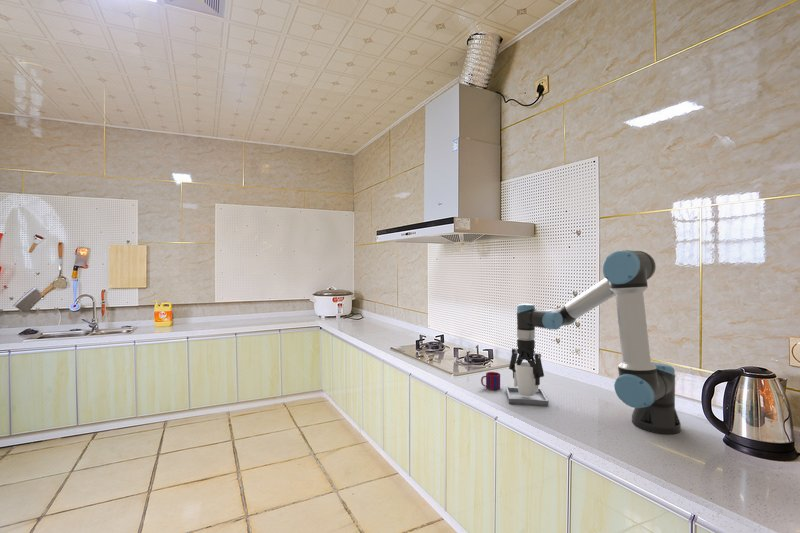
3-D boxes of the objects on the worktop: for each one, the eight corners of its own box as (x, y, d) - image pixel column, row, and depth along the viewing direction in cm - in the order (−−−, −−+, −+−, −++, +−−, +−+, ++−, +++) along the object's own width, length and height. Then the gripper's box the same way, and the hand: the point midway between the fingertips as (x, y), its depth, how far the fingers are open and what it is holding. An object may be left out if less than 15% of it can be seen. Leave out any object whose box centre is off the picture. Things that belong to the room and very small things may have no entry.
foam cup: (529, 398, 166) (529, 368, 166) (510, 393, 174) (510, 364, 174) (541, 394, 172) (541, 364, 172) (523, 389, 180) (523, 360, 180)
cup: (502, 389, 186) (502, 375, 186) (484, 391, 183) (484, 376, 183) (495, 385, 192) (495, 371, 192) (477, 387, 189) (477, 373, 189)
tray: (548, 406, 164) (548, 400, 164) (509, 403, 167) (509, 398, 167) (541, 393, 180) (541, 388, 179) (505, 391, 182) (505, 386, 182)
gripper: (553, 341, 166) (553, 394, 166) (511, 334, 184) (511, 381, 184) (542, 343, 162) (542, 397, 162) (500, 336, 180) (500, 384, 180)
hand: (526, 389), depth 173 cm, fingers closed on foam cup, 9 cm apart
